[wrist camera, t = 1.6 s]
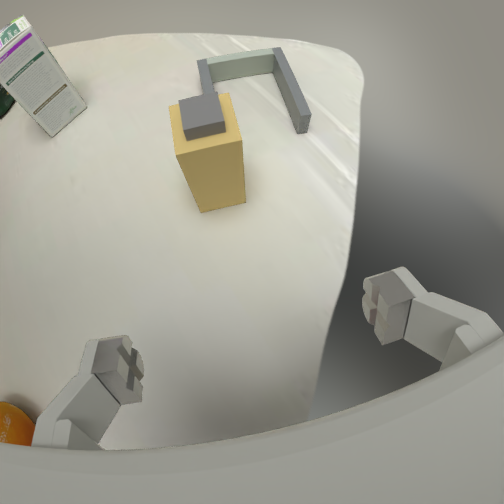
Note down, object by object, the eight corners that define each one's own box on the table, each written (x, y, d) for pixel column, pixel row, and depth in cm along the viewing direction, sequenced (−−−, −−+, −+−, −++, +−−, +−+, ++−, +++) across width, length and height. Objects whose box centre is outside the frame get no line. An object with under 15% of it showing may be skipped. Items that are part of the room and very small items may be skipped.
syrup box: (89, 107, 31) (34, 21, 16) (51, 140, 30) (-17, 65, 16) (73, 87, 32) (24, 10, 17) (38, 117, 31) (-21, 48, 17)
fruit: (7, 381, 24) (-44, 387, 16) (64, 427, 23) (15, 449, 15) (-3, 437, 22) (-47, 450, 14) (51, 482, 21) (9, 509, 13)
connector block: (201, 212, 27) (171, 144, 17) (193, 173, 28) (164, 95, 17) (245, 202, 28) (241, 128, 17) (235, 163, 28) (227, 80, 18)
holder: (216, 149, 29) (212, 132, 26) (200, 79, 31) (196, 60, 28) (306, 132, 29) (311, 114, 26) (278, 65, 32) (280, 47, 29)
